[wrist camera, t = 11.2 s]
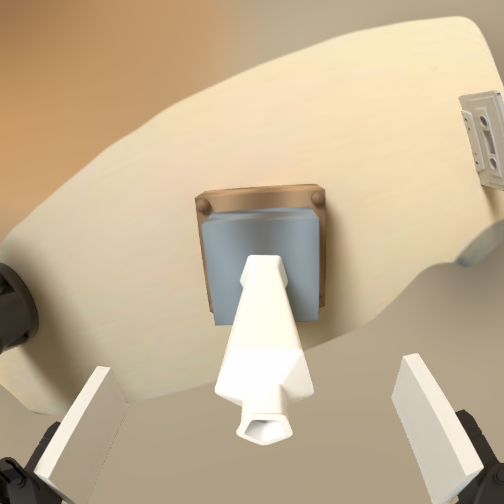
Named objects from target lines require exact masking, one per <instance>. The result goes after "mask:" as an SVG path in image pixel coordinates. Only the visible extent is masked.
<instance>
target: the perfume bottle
mask: <svg viewBox="0 0 504 504" xmlns="http://www.w3.org/2000/svg"><path fill="white" fill-rule="evenodd" d="M240 283H241V285H242V287H243V291H242V295H241V298H240V302H239V305H238V309H237V312H236V316H235V320H234V323H233V327H232V330H231V334H230V337H229V341H228V344H227V348H226V352H225V355H224V359H223V362H222V366H221V369H220V373H219V376H218V380H217V384H216V387H215V393H216V394H218V395H219V396H222V397H223V398H225V399H227V400H229V401H231V402H233V403H235V404H237V405H239V406H241V407H242V417H241V424H240V426H239V428H238V430H237V435H238V436H240V437H242V438H245V439H247V440H249V441H252V442H255V443H257V444H260V445H269V444H272V443H274V442H277V441H280V440H283V439H285V438H288V437H290V436H291V435H292V434H293V431H292V428H291V426H290V424H289V421H288V410H287V407H288V406H290V405H292V404H294V403H296V402H299V401H301V400H303V399H305V398H307V397H309V396H311V395H313V393H314V389H313V385H312V381H311V378H310V374H309V371H308V367H307V363H306V360H305V356H304V352H303V349H302V345H301V342H300V338H299V335H298V331H297V328H296V324H295V321H294V317H293V314H292V310H291V307H290V304H289V300H288V297H287V293H286V290H285V288H286V286H287V284H288V279H287V275H286V272H285V268H284V265H283V262H282V258H281V257H280V256H278V255H250V256H249V257H248V258H247V261H246V264H245V267H244V270H243V273H242V276H241V279H240Z"/></svg>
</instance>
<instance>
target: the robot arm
mask: <svg viewBox="0 0 504 504" xmlns="http://www.w3.org/2000/svg"><path fill="white" fill-rule="evenodd" d="M37 329H38V316H37V311H36V308H35V305H34V302H33V299H32V297H31V295H30V293H29V291H28V289H27V287H26V286H25V284H24V283H23V281H22V280H21V279H20V277H19V276H18V275H17V274H16V273H15V272H14V271H13V270H12V269H11V268H10V267H8V266H7V265H5V264H3V263H0V354H1V353H3V352H4V351H7V350H9V349H12V348H15V347H17V346H20V345H23V344H25V343H27V342H28V341H29V340H30V339H31V338H32V337H33V336H34V335H35V334H36V332H37ZM391 399H392V402H393V404H394V406H395V409H396V411H397V413H398V416H399V418H400V420H401V423H402V425H403V427H404V430H405V432H406V435H407V437H408V440H409V442H410V445H411V447H412V449H413V452H414V455H415V457H416V460H417V462H418V465H419V468H420V470H421V473H422V476H423V478H424V481H425V484H426V486H427V489H428V492H429V495H430V498H431V501H432V504H446V503H448V502H451V501H452V500H453V499H454V498H455V497H456V496H458V498H459V501H458V502H457V503H456V504H504V463H500V462H499V461H498V460H497V458H496V456H495V454H494V453H493V451H492V449H491V447H490V446H489V444H488V442H487V440H486V438H485V437H484V435H482V431H481V430H480V428H479V427H478V425H477V423H476V421H475V420H474V418H473V416H471V415H470V414H469V413H468V412H466V411H465V410H461V411H458V412H455V413H454V411H453V409H452V407H451V406H450V404H449V402H448V401H447V399H446V397H445V396H444V394H443V392H442V391H441V389H440V387H439V386H438V384H437V383H436V381H435V379H434V378H433V376H432V375H431V373H430V371H429V370H428V368H427V367H426V365H425V364H424V362H423V361H422V359H421V358H420V356H419V354H418V353H417V354H412V355H406V356H403V358H402V362H401V367H400V370H399V374H398V377H397V380H396V384H395V387H394V391H393V394H392V397H391ZM127 409H128V405H127V403H126V401H125V399H124V397H123V395H122V392H121V390H120V388H119V386H118V384H117V381H116V379H115V377H114V374H113V372H112V370H111V368H110V367H101V366H97V368H96V369H95V371H94V372H93V374H92V375H91V377H90V378H89V380H88V381H87V383H86V384H85V386H84V387H83V389H82V391H81V392H80V394H79V395H78V397H77V398H76V400H75V402H74V403H73V405H72V406H71V408H70V410H69V411H68V413H67V414H66V416H65V418H64V419H63V421H62V423H60V422H55V423H54V424H53V425H51V426H50V427H49V428H48V429H47V431H46V433H45V434H44V436H43V438H42V439H41V441H40V443H39V445H38V446H37V448H36V449H35V451H34V453H33V455H32V456H31V458H30V460H29V461H28V463H27V465H26V466H25V468H24V469H23V468H22V467H21V466H20V465H19V464H18V463H17V461H16V460H15V459H13V458H11V457H5V458H3V459H1V460H0V504H61V502H62V500H64V501H66V502H67V503H68V504H88V501H89V498H90V496H91V493H92V491H93V488H94V486H95V484H96V481H97V478H98V476H99V474H100V471H101V469H102V466H103V464H104V462H105V459H106V457H107V455H108V452H109V450H110V448H111V445H112V443H113V441H114V439H115V436H116V434H117V432H118V429H119V427H120V425H121V423H122V421H123V418H124V416H125V414H126V412H127Z"/></svg>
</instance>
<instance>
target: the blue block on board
mask: <svg viewBox="0 0 504 504" xmlns="http://www.w3.org/2000/svg"><path fill="white" fill-rule="evenodd" d="M195 203H196V212H197V220H198V229H199V237H200V244H201V252H202V260H203V267H204V274H205V281H206V288H207V294H208V301H209V307H210V312H212V313H213V314H214V320H215V325H233V323H234V320H235V316H236V312H237V309H238V305H239V302H240V298H241V295H242V291H243V287H242V285H241V283H240V279H241V276H242V273H243V270H244V267H245V264H246V261H247V258H248V257H249V256H250V255H278V256H280V257H281V258H282V262H283V265H284V268H285V272H286V275H287V279H288V284H287V286H286V288H285V290H286V293H287V297H288V300H289V304H290V307H291V310H292V314H293V317H294V321H295V322H302V321H316V320H318V312H319V308H321V307H323V306H325V278H326V208H325V189H323V188H322V187H320V186H318V185H317V184H304V185H282V186H265V187H250V188H236V189H224V190H212V191H205V192H203V193H202V194H200V195H199V196H197V197H196V198H195Z"/></svg>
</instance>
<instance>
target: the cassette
mask: <svg viewBox="0 0 504 504" xmlns="http://www.w3.org/2000/svg"><path fill="white" fill-rule="evenodd" d="M459 100H460V103H461V106H462V111H461V112H462V116H463V119H464V122H465V126H466V129H467V133H468V137H469V140H470V144H471V148H472V153H473V157H474V161H475V166H476V171H477V172H479V177H480V183H481V185H484V186H488V187H492V188H495V189H499V190H503V191H504V104H503V100H502V97H501V94H500V92H499V91H498V90H495V91H488V92H482V93H477V94H468V95H463V96H460V97H459Z"/></svg>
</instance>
